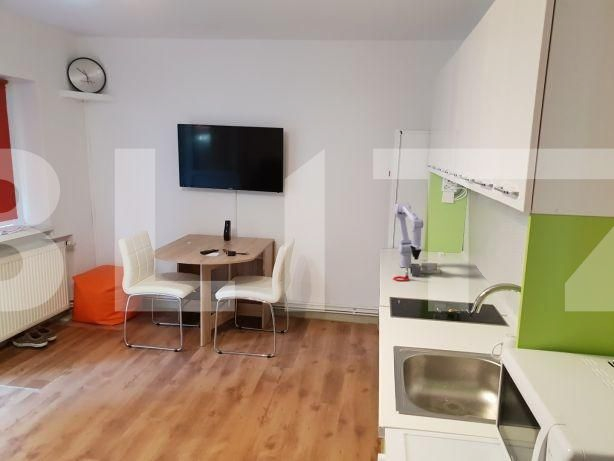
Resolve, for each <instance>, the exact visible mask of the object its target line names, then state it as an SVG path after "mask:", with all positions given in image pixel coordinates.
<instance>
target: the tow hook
mask: <svg viewBox="0 0 614 461" xmlns="http://www.w3.org/2000/svg"><path fill="white" fill-rule="evenodd" d="M409 276H410V275H409V268H408V259H407V260H406V268H405V276H393V278H392V280H393V279H394V280H393V281H395V282H406V281H407V282H409V281H410V279H409Z"/></svg>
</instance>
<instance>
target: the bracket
mask: <svg viewBox="0 0 614 461" xmlns="http://www.w3.org/2000/svg"><path fill="white" fill-rule="evenodd" d="M420 266H421V265H420V263H413V262H411V268H409V270H410V272H409V273H410V274H411V277H412V278H421V277H422V276H421V274H422V273H421V267H420Z"/></svg>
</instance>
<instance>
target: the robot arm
mask: <svg viewBox="0 0 614 461" xmlns="http://www.w3.org/2000/svg"><path fill="white" fill-rule="evenodd" d="M411 207H412V206H411V204H410V203H396V204H395V205H394V208H393V209H394V215H395V217H396V218H397V221H398V226H399V232H400V240H399V241H398V244H397V245H398V248H397V250H398V252H399V254H400V259H399V263H398V265H399V267H400V268H405V269H406V260H407V259H408V269H410V268H411V263H412V257H413V259H414V260H415V261H417V260H419V258H420V255H421V252H422V249H421V248H420V247H421V245H422V244H421V242H422V241H421V240H422V229H423V227H424V221H423V219H421V218H419V217H418V216H417V214H416V213H415V212H412V210H411V209H412V208H411ZM406 217H407V219H408V221H409V222H410V226H411V240H410V239H409V233H408V228H407V227H408V226H407V221H406Z"/></svg>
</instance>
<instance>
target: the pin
mask: <svg viewBox="0 0 614 461" xmlns="http://www.w3.org/2000/svg"><path fill="white" fill-rule="evenodd" d="M420 266H421V270H427V271H429V270H437V267H438V263H436V262H425V263H424V262H422V263H421V265H420Z"/></svg>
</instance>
